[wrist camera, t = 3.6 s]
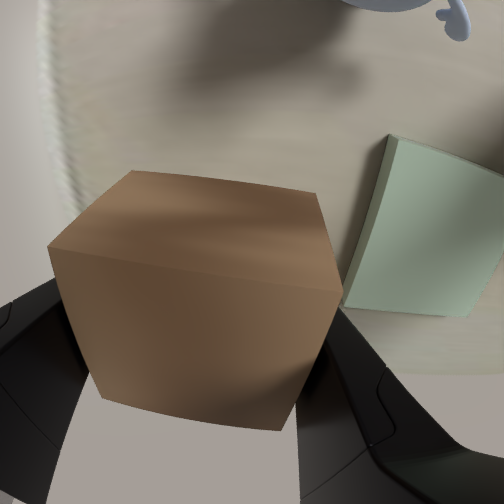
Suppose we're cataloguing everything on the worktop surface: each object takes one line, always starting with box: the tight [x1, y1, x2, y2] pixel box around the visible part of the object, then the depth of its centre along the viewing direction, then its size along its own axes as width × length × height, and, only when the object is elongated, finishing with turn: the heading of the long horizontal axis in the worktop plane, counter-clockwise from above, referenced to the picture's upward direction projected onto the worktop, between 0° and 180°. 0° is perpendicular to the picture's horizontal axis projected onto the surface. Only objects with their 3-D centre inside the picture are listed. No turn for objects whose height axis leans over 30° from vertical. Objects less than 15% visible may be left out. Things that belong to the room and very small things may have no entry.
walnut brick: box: [47, 170, 344, 431], centre depth 8 cm, size 5×5×4 cm
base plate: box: [342, 134, 504, 317], centre depth 17 cm, size 11×11×2 cm
